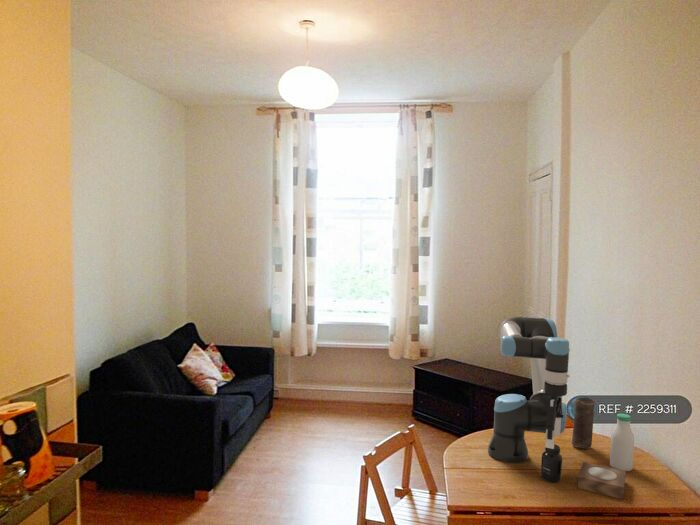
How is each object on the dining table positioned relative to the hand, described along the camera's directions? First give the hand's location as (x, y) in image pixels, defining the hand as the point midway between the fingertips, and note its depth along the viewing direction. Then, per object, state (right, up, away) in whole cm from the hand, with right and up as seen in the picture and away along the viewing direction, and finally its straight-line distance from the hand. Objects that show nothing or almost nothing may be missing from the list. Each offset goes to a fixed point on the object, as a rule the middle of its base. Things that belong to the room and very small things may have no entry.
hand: (552, 441), depth 186 cm
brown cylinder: (+23, -13, +30) cm, 40 cm away
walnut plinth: (+16, -14, -3) cm, 22 cm away
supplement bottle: (0, -14, +1) cm, 14 cm away
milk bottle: (+30, -14, +12) cm, 36 cm away
